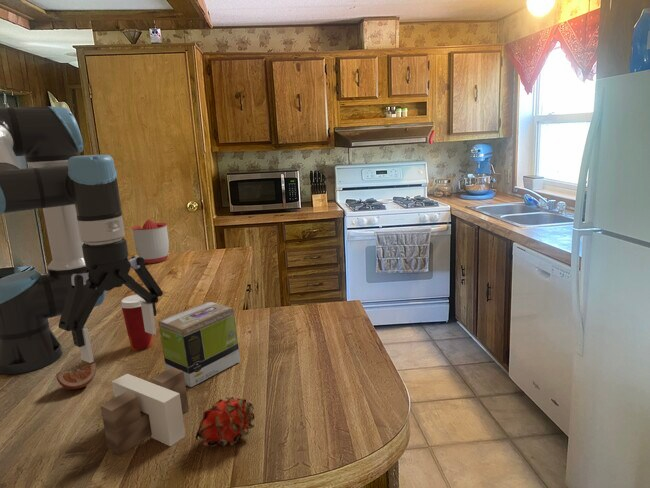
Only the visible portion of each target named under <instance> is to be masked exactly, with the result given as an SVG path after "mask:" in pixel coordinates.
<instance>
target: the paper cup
mask: <svg viewBox="0 0 650 488" xmlns="http://www.w3.org/2000/svg"><path fill="white" fill-rule="evenodd" d="M143 301H144V302H146V301H145V300H144V299H143V298H141V297H140V296H139V295H137V294H133V295H128V296H126V297H124V298H122V299H121V301H120V305H119V307H120V308H121V310H122V314H123V320H124V323H125V328H126V332H127V336H128V340H129V341H128V342H129V344H130V348H131V351H132V350H133V351H135V352H136V351H137V352H138V351H139V352H140V351H141V352H142V351H145V350H148V349H150V348H151V347H153V344H154V343H153V334H150V333H147V332H145V328H144V321H143V315H142V308H141V302H143Z"/></svg>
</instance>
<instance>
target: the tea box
mask: <svg viewBox="0 0 650 488" xmlns="http://www.w3.org/2000/svg"><path fill="white" fill-rule="evenodd" d="M158 328H159V333H160V338H161V339H160V340H161V345H162V350H163V351H162V352H163V359H164V364H165V369H166V370H168V369H170V368H172V367H173V368H176V369H179V370H182V371H184V378H185V385H186V386H188V387H190V388H193V387H195V386H196V385H198V384H200V383H203V382H204V381H206V380H207V379H209V378H211V377H213V376H215V375H217V374H219V373H221V372H223V371H224V370H226V369H228V368H231V367H232V366H234V365H236V364H238V363H241V356H240V355H241V354H240V349H239V340H238V332H237V324H236V317H235V311H234V307H231V306H227V305H223V304H221V303H216V302H212V301H210V300H209V301H207V302H206V301H205V302H203V303H201V304H198V305H196V306H194V307H192V308H191V307H190V308H188V309H185V310H183V311H180V312H178V313H176V314H173V315H170V316H168V317H165V318H163V319H160V320H158ZM166 370H165V371H166Z"/></svg>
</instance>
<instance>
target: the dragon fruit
mask: <svg viewBox="0 0 650 488" xmlns="http://www.w3.org/2000/svg"><path fill="white" fill-rule="evenodd" d="M225 399H226V400H225ZM225 399H222V398H221V399H219V400H218V401H215V402H214V403H213V404H212V407H210V408H208V409H206V410H205V411H204V412H203V415H202V420H201V422H200V424H199V426H198V429H197V432H196V434H195V440H196V441H198V440H199V439H202V440H204V441H203V442H202V444H203V446H205V447H215V446H217V445H218V444H219V445H220V446H222V447H225V446H226V445H227V444H228V443H229V445H230V446H233V445H235V444H236V443H238V441H239V438H240V439H241V438H242V436H243V437H244V436H247V435H249V431H250V430H251V429H253V428H254V427H255V424H252V422H253V421H254V420H255V414H254V409H255V407H254V404H253V403H251V402H250V401H247V399H245V398H239V397H237V398H236V399H235V398H234V397H232V396H227V397H226V398H225ZM245 430H246V431H245Z"/></svg>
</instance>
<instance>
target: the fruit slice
mask: <svg viewBox="0 0 650 488" xmlns="http://www.w3.org/2000/svg"><path fill="white" fill-rule="evenodd" d="M97 369H98V367H97V362H92V363H89V364H86V365H82V366H81V367H80V368H78V369H77V368H72V369H68V370H64V371H61V372H60V371H59V372H57V373H56V380H57V382H58V384H59V385H60V386H61V387H62V388H65V389H68V390H79V389H82V388H84V387H86V386H88V385H89V384H90V383H91V382H92V381H93V379H94V378H95V376H96V374H97V373H96V372H97Z"/></svg>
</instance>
